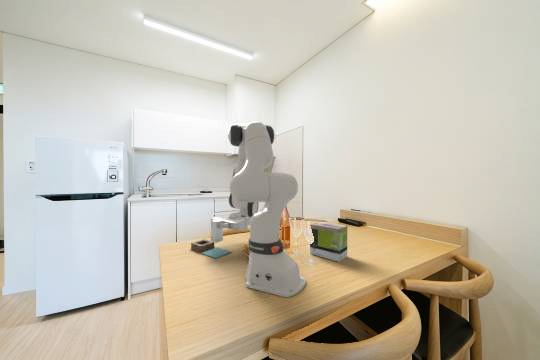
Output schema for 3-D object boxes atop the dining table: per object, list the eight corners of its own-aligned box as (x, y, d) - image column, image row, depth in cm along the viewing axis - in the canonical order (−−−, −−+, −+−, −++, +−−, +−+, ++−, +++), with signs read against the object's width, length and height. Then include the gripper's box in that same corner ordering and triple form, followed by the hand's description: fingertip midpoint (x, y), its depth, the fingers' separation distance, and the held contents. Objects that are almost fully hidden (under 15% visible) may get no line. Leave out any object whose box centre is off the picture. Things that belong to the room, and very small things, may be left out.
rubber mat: (231, 252, 100) (231, 251, 100) (215, 258, 92) (215, 257, 92) (218, 247, 106) (218, 247, 106) (201, 253, 98) (201, 252, 98)
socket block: (214, 247, 106) (214, 242, 106) (200, 252, 100) (200, 246, 100) (204, 244, 111) (204, 239, 111) (191, 248, 104) (191, 243, 104)
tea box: (347, 256, 96) (348, 225, 96) (339, 262, 89) (339, 229, 88) (319, 248, 106) (319, 220, 106) (309, 254, 99) (309, 223, 98)
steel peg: (222, 240, 100) (222, 220, 99) (216, 242, 96) (216, 221, 96) (217, 238, 102) (217, 219, 102) (210, 241, 99) (210, 220, 98)
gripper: (222, 212, 115) (202, 216, 104) (249, 217, 104) (229, 222, 92) (222, 223, 116) (202, 228, 104) (249, 229, 104) (229, 236, 92)
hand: (215, 225), depth 98 cm, fingers closed on steel peg, 4 cm apart
